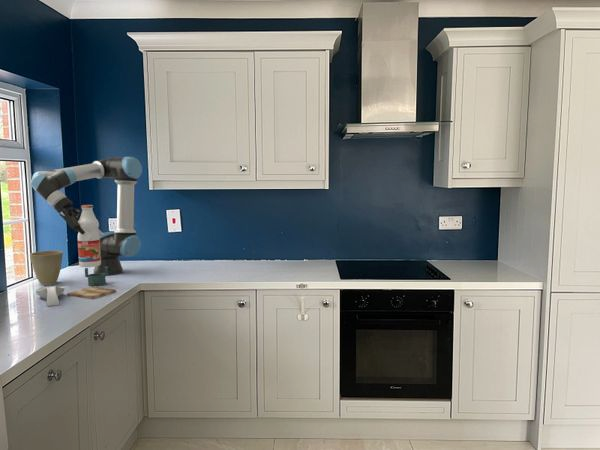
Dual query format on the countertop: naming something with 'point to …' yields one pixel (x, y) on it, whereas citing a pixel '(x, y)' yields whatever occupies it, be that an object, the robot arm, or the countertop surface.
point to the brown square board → (91, 292)
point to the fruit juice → (89, 248)
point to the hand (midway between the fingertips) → (95, 237)
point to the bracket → (96, 278)
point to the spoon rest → (51, 294)
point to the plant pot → (47, 266)
